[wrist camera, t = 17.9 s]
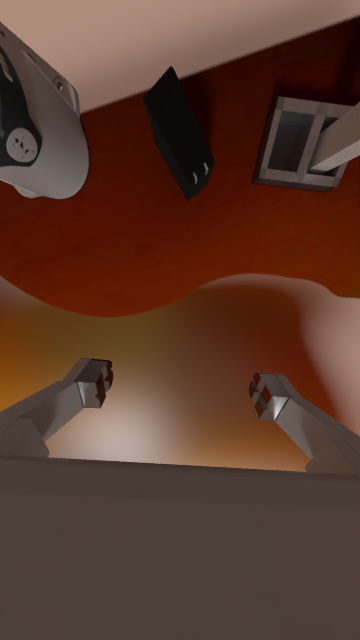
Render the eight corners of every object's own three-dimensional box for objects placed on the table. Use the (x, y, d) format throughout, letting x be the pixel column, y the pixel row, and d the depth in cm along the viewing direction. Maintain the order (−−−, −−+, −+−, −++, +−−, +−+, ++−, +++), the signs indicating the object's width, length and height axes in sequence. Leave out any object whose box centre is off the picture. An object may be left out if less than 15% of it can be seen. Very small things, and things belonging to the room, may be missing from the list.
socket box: (324, 192, 29) (337, 187, 27) (252, 183, 29) (258, 177, 27) (351, 121, 25) (370, 108, 23) (269, 111, 25) (278, 96, 23)
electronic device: (175, 122, 26) (170, 59, 17) (206, 186, 29) (216, 161, 20) (155, 143, 27) (140, 93, 18) (187, 202, 31) (189, 185, 22)
